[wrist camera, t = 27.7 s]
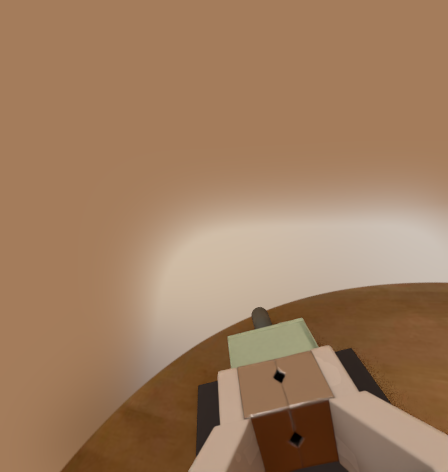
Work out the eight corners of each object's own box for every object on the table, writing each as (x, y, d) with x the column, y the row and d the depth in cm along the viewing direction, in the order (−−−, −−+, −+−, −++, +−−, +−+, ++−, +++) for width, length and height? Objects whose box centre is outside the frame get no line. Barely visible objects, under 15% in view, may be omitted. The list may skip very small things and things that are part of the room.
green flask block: (339, 384, 23) (287, 290, 37) (235, 409, 23) (223, 306, 37) (345, 420, 24) (292, 315, 38) (246, 444, 24) (230, 331, 39)
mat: (195, 531, 20) (193, 526, 20) (199, 389, 31) (198, 385, 31) (437, 473, 20) (437, 468, 19) (352, 351, 31) (351, 347, 31)
